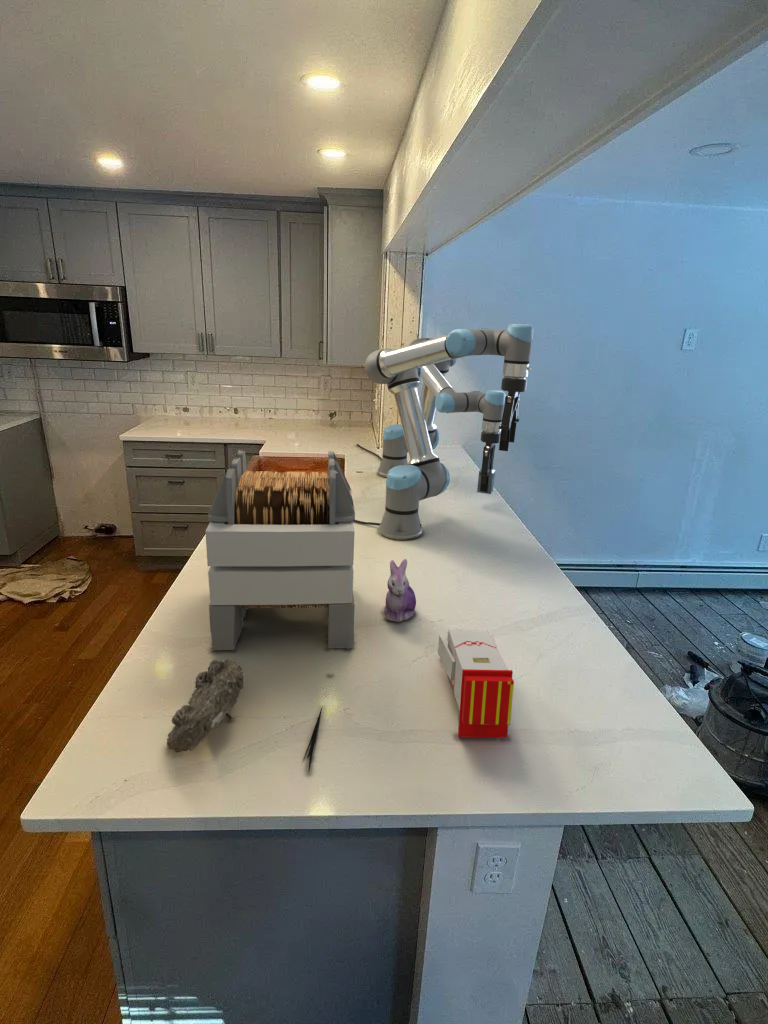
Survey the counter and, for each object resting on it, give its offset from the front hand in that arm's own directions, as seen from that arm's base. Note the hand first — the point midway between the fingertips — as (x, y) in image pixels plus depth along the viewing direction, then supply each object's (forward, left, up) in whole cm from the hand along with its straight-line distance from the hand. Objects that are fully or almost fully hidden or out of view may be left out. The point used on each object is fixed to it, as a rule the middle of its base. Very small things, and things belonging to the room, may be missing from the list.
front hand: (506, 446), depth 179 cm
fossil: (+21, -110, -35) cm, 117 cm away
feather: (+34, -94, -35) cm, 106 cm away
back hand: (-28, +27, -27) cm, 47 cm away
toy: (+46, -65, -35) cm, 87 cm away
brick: (-28, +28, -28) cm, 48 cm away
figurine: (+13, -55, -35) cm, 67 cm away
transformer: (-4, -78, -35) cm, 86 cm away
